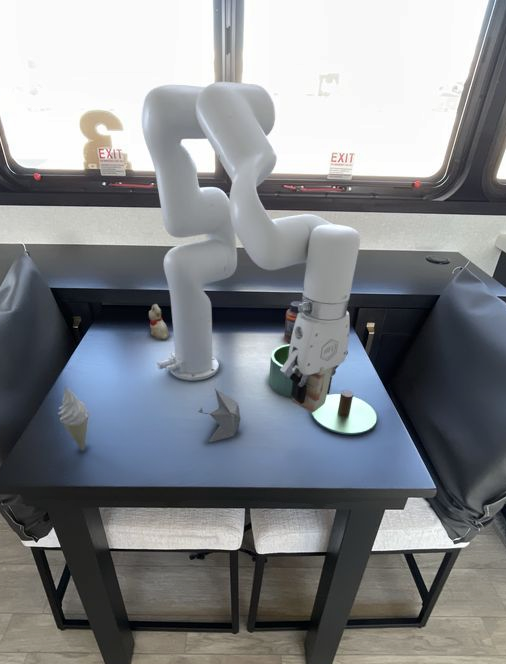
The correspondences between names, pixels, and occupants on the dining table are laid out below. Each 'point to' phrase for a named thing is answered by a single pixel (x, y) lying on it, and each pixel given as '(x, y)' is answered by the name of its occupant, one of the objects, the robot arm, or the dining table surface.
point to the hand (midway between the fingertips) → (310, 394)
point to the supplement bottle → (291, 320)
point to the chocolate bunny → (158, 324)
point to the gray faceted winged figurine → (225, 417)
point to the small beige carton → (316, 389)
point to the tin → (276, 378)
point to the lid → (345, 414)
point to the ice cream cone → (74, 417)
